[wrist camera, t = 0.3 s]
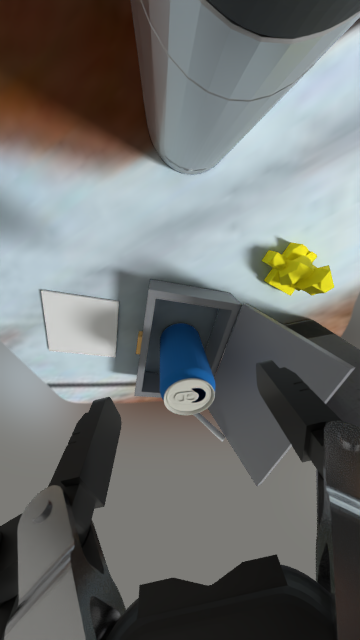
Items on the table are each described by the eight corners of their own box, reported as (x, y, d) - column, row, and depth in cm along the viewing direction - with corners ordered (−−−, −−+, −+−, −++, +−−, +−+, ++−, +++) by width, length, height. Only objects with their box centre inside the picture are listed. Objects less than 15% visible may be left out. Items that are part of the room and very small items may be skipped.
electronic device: (261, 354, 34) (368, 496, 16) (262, 327, 31) (394, 462, 14) (310, 345, 34) (471, 475, 16) (316, 316, 31) (517, 438, 14)
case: (146, 276, 25) (127, 344, 11) (259, 296, 28) (358, 369, 14) (133, 379, 34) (114, 492, 20) (221, 386, 37) (260, 489, 23)
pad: (42, 289, 25) (41, 290, 25) (119, 301, 27) (118, 302, 26) (50, 349, 29) (49, 350, 29) (115, 355, 31) (115, 357, 31)
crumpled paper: (278, 234, 25) (323, 239, 18) (318, 261, 27) (372, 274, 20) (252, 274, 27) (283, 291, 20) (291, 296, 29) (331, 318, 22)
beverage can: (198, 351, 32) (217, 414, 22) (161, 355, 32) (162, 420, 21) (199, 319, 29) (220, 373, 19) (158, 322, 29) (156, 379, 18)
